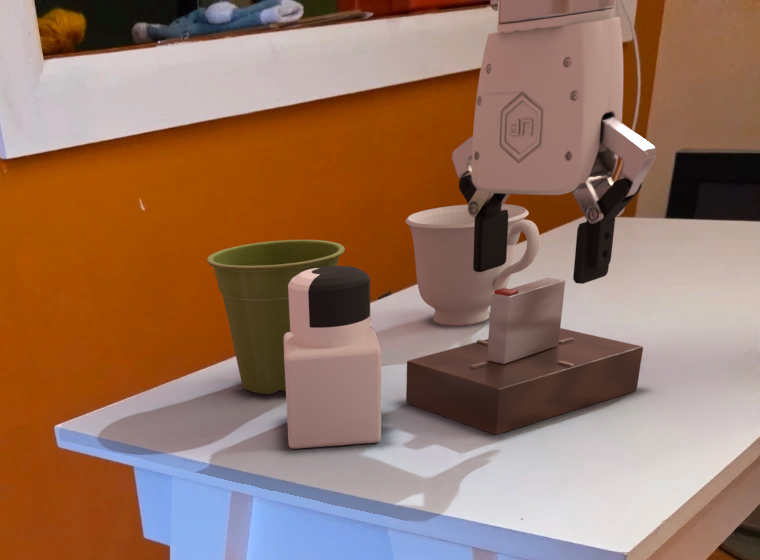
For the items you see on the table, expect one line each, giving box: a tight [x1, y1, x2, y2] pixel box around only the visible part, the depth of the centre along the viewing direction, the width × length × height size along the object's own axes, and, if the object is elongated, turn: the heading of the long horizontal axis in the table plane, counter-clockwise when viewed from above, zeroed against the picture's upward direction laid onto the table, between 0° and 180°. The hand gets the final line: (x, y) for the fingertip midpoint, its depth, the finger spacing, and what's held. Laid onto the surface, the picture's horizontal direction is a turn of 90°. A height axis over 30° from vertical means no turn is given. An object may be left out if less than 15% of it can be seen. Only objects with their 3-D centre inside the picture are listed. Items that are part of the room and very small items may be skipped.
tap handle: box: [487, 277, 566, 364], centre depth 76 cm, size 6×2×5 cm, turn 125°
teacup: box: [404, 203, 541, 326], centre depth 98 cm, size 12×15×10 cm
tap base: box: [405, 327, 644, 436], centre depth 78 cm, size 15×11×4 cm
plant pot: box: [206, 239, 346, 395], centre depth 85 cm, size 12×12×11 cm
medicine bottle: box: [284, 265, 382, 450], centre depth 73 cm, size 7×7×12 cm
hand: (537, 273), depth 74 cm, fingers open, 9 cm apart
